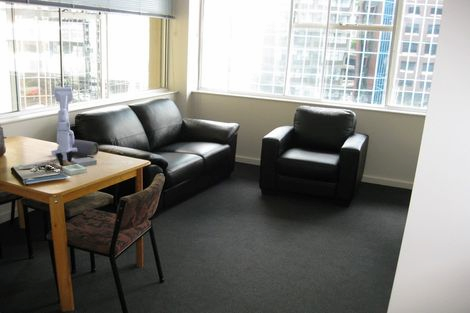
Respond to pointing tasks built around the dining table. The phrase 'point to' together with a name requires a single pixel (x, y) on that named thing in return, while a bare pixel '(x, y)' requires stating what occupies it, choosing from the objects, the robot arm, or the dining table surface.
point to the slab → (84, 161)
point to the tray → (74, 169)
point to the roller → (66, 163)
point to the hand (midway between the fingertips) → (65, 165)
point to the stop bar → (53, 165)
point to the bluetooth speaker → (85, 148)
